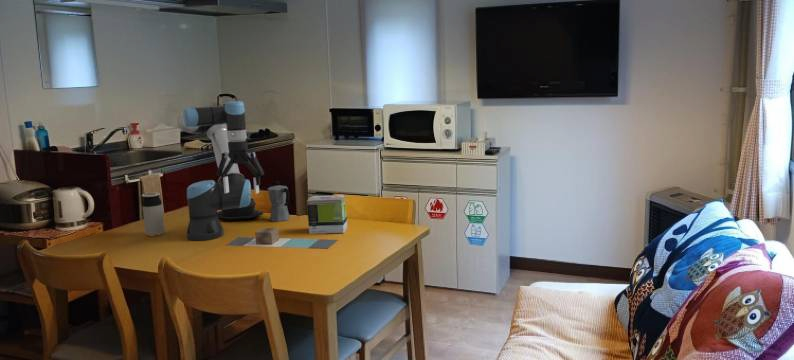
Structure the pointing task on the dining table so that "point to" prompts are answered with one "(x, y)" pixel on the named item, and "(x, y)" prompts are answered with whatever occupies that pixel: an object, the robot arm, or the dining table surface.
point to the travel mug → (153, 214)
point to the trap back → (240, 241)
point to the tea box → (327, 214)
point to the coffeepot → (279, 203)
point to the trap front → (323, 244)
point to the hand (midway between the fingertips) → (241, 192)
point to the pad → (300, 243)
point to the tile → (276, 244)
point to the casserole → (240, 212)
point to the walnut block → (267, 236)
